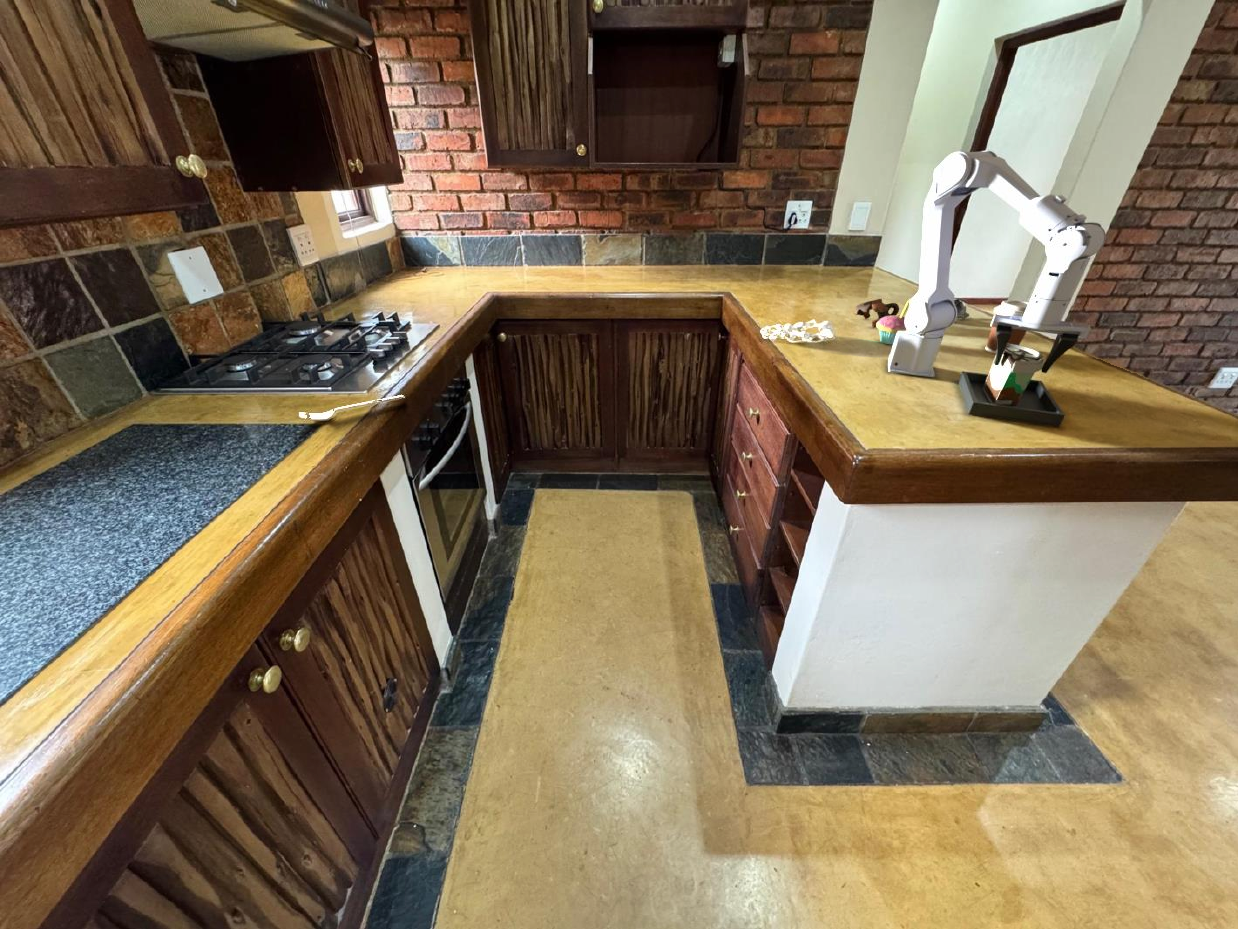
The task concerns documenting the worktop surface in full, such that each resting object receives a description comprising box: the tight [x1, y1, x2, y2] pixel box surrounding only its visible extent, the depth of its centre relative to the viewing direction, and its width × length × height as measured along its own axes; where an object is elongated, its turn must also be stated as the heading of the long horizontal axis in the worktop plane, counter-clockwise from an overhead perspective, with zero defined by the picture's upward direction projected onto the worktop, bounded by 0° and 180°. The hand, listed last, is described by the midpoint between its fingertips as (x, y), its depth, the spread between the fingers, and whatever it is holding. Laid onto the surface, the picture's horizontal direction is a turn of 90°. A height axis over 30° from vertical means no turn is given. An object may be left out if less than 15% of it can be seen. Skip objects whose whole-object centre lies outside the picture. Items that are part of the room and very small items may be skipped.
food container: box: [983, 343, 1044, 407], centre depth 97 cm, size 12×6×10 cm, turn 158°
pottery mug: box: [854, 298, 900, 329], centre depth 146 cm, size 12×10×8 cm
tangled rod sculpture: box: [760, 318, 836, 344], centre depth 135 cm, size 19×14×4 cm
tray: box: [957, 371, 1066, 429], centre depth 100 cm, size 15×18×3 cm
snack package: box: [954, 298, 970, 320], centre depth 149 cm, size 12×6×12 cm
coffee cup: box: [984, 299, 1029, 354], centre depth 123 cm, size 9×9×12 cm
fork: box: [298, 394, 406, 422], centre depth 102 cm, size 3×20×2 cm, turn 122°
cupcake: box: [876, 297, 912, 346], centre depth 130 cm, size 9×8×12 cm
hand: (1019, 367), depth 96 cm, fingers open, 7 cm apart
